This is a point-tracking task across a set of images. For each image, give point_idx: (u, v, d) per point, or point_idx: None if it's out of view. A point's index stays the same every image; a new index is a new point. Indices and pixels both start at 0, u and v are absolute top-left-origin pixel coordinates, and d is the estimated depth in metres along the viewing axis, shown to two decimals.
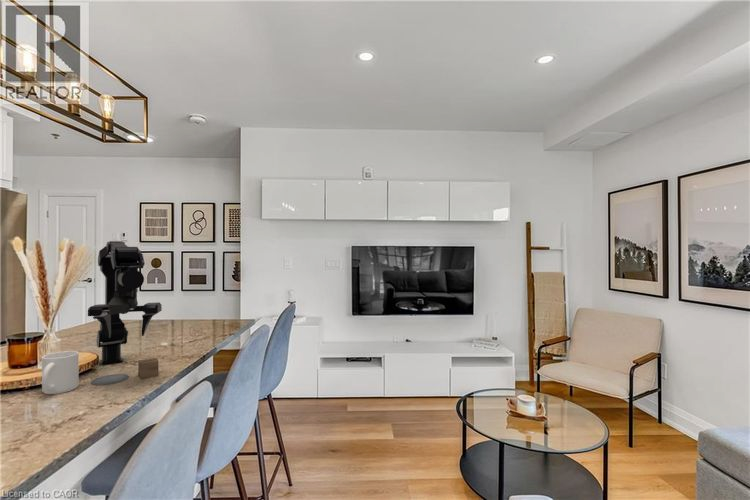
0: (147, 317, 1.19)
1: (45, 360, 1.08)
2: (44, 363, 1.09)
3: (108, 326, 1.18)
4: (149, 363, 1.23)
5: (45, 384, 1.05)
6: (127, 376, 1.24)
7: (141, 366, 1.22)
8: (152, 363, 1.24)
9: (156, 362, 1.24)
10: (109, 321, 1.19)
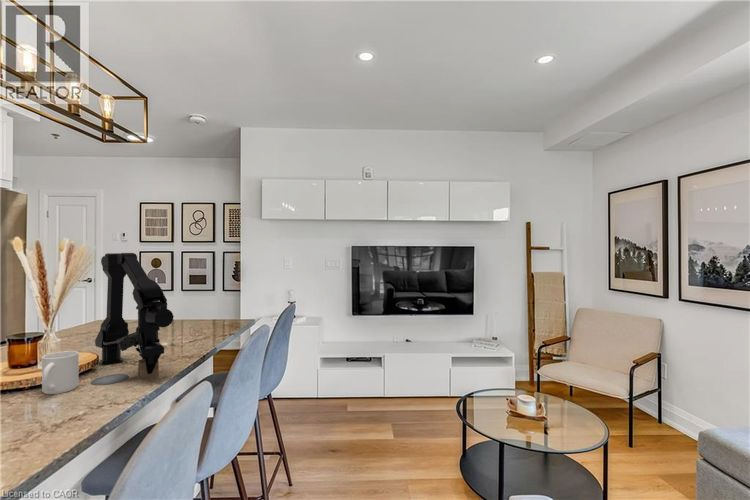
0: (142, 357, 1.20)
1: (45, 360, 1.08)
2: (44, 363, 1.09)
3: None
4: None
5: (45, 384, 1.05)
6: (127, 376, 1.24)
7: (141, 366, 1.22)
8: None
9: None
10: None
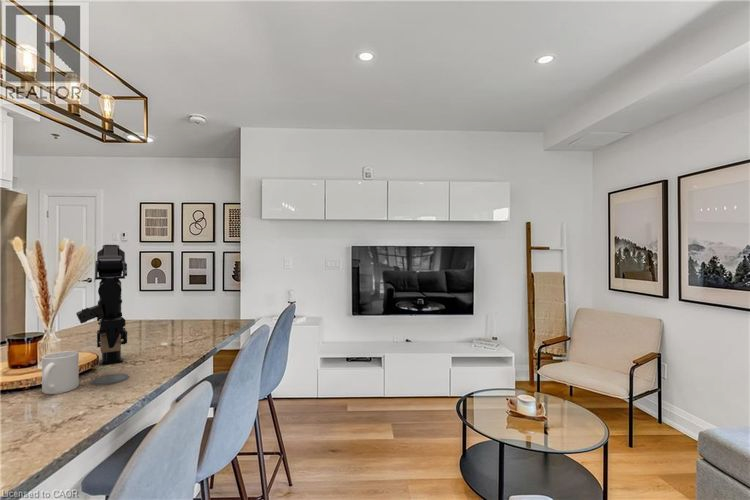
0: (102, 330, 1.16)
1: (45, 360, 1.08)
2: (44, 363, 1.09)
3: None
4: None
5: (45, 384, 1.05)
6: (127, 376, 1.24)
7: (102, 339, 1.18)
8: None
9: None
10: None
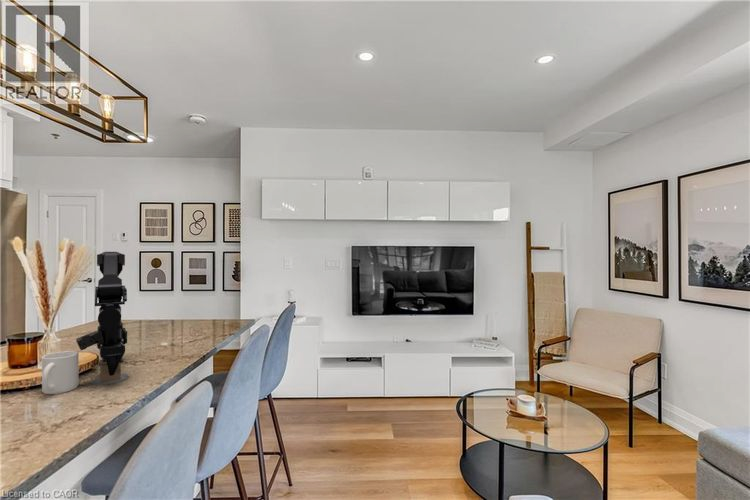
0: (103, 358, 1.15)
1: (45, 360, 1.08)
2: (44, 363, 1.09)
3: None
4: None
5: (45, 384, 1.05)
6: (127, 376, 1.24)
7: (102, 369, 1.18)
8: None
9: (118, 365, 1.20)
10: None
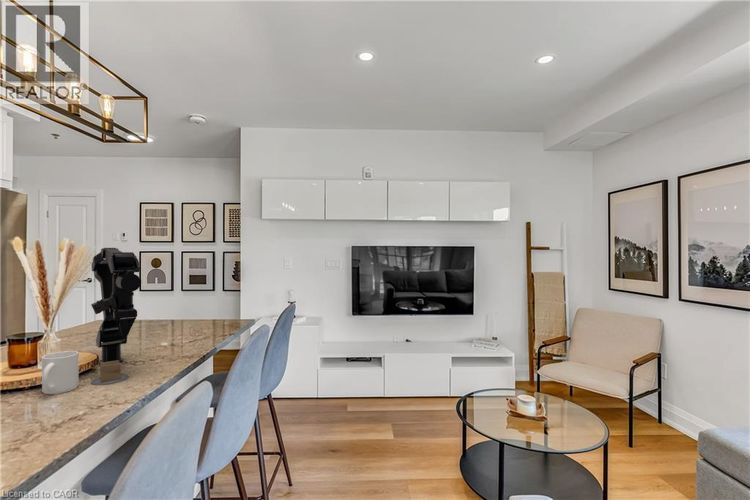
0: (116, 321, 1.23)
1: (45, 360, 1.08)
2: (44, 363, 1.09)
3: None
4: (110, 366, 1.19)
5: (45, 384, 1.05)
6: (127, 376, 1.24)
7: (102, 369, 1.18)
8: (114, 366, 1.20)
9: (118, 365, 1.20)
10: None
